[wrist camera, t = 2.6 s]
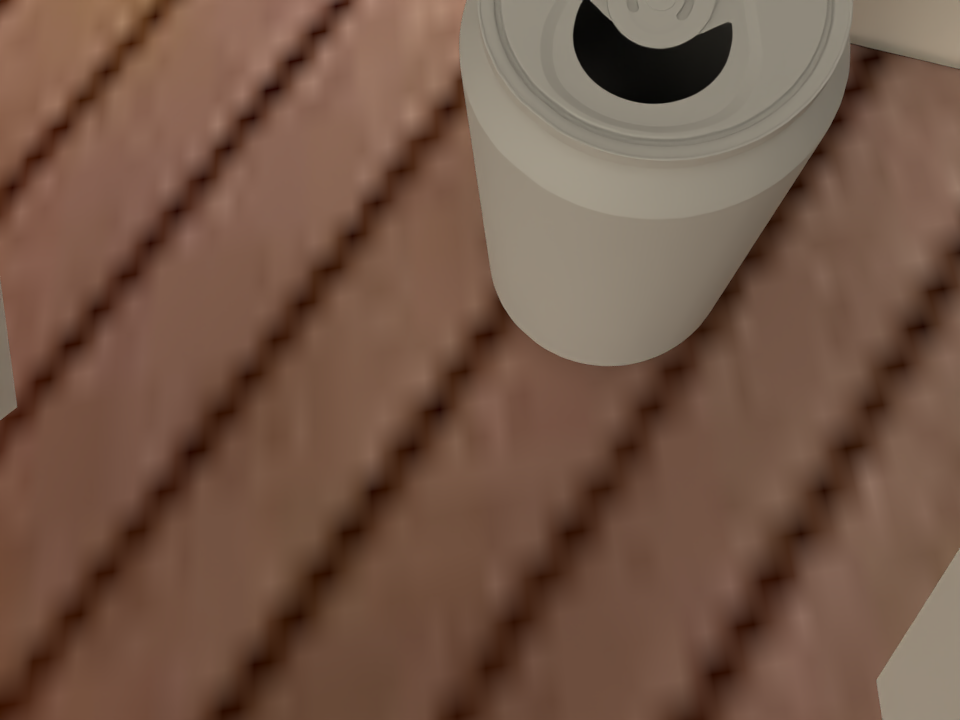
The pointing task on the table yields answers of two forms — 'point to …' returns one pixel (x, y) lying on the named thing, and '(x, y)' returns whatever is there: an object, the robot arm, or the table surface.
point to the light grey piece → (909, 28)
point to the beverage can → (638, 153)
